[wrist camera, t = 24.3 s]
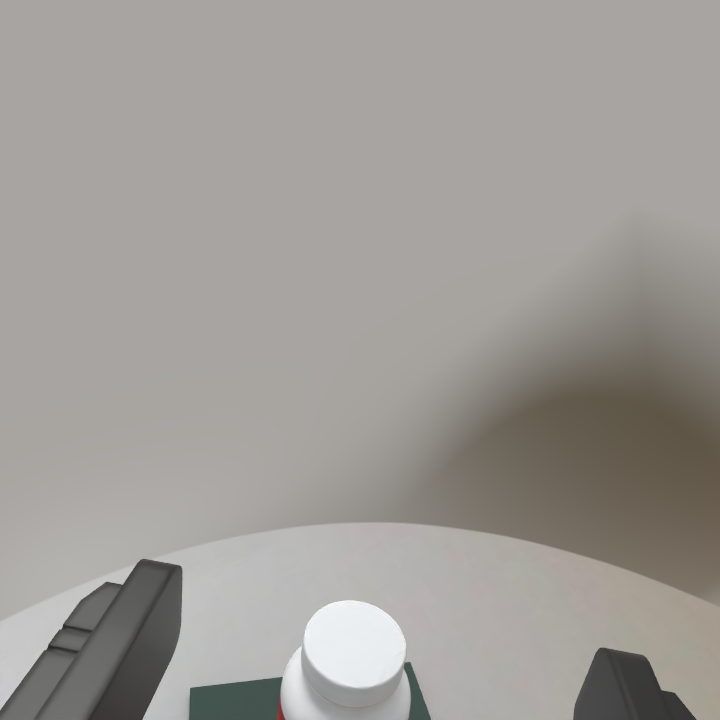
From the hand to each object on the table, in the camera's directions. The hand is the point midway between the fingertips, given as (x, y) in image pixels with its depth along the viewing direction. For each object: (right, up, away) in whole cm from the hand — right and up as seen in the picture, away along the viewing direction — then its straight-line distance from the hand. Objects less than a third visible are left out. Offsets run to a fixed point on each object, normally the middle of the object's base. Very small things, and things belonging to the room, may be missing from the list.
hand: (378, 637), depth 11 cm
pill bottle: (-2, -18, +19) cm, 26 cm away
